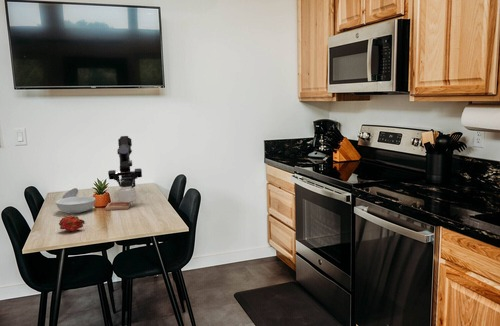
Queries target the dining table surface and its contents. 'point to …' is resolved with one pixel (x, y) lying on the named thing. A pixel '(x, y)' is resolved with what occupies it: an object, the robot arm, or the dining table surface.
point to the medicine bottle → (126, 192)
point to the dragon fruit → (71, 223)
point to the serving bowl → (75, 204)
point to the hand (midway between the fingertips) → (125, 185)
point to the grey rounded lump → (71, 193)
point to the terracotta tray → (118, 206)
